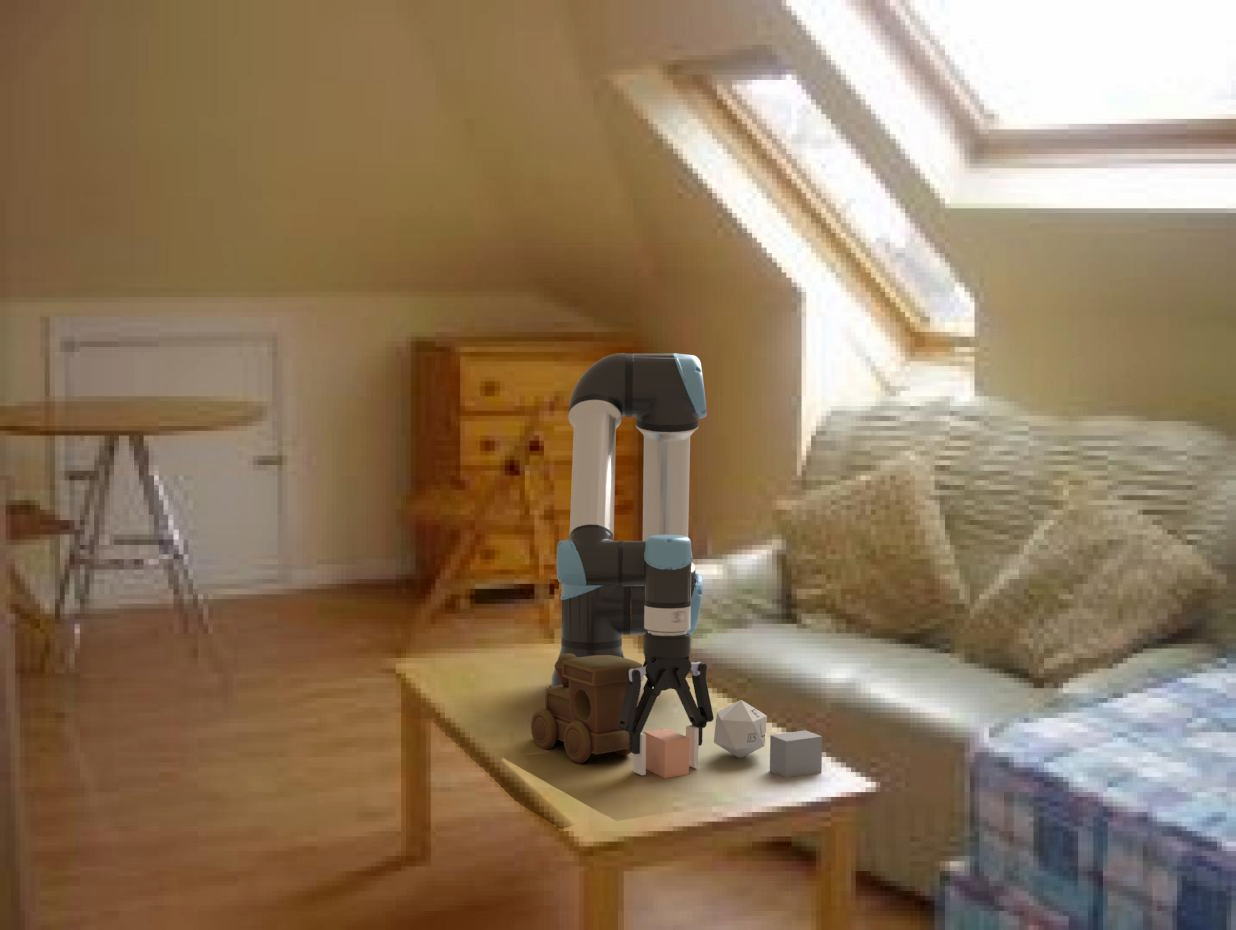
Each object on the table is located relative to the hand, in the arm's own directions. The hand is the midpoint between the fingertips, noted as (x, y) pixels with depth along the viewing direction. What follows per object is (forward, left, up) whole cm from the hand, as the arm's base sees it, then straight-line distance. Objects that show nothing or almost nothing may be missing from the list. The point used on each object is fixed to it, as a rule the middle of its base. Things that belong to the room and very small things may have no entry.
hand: (665, 769), depth 243 cm
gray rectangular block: (+10, +19, 0) cm, 21 cm away
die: (-1, +15, -1) cm, 15 cm away
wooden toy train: (-16, -6, -1) cm, 17 cm away
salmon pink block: (0, 0, 0) cm, 0 cm away
